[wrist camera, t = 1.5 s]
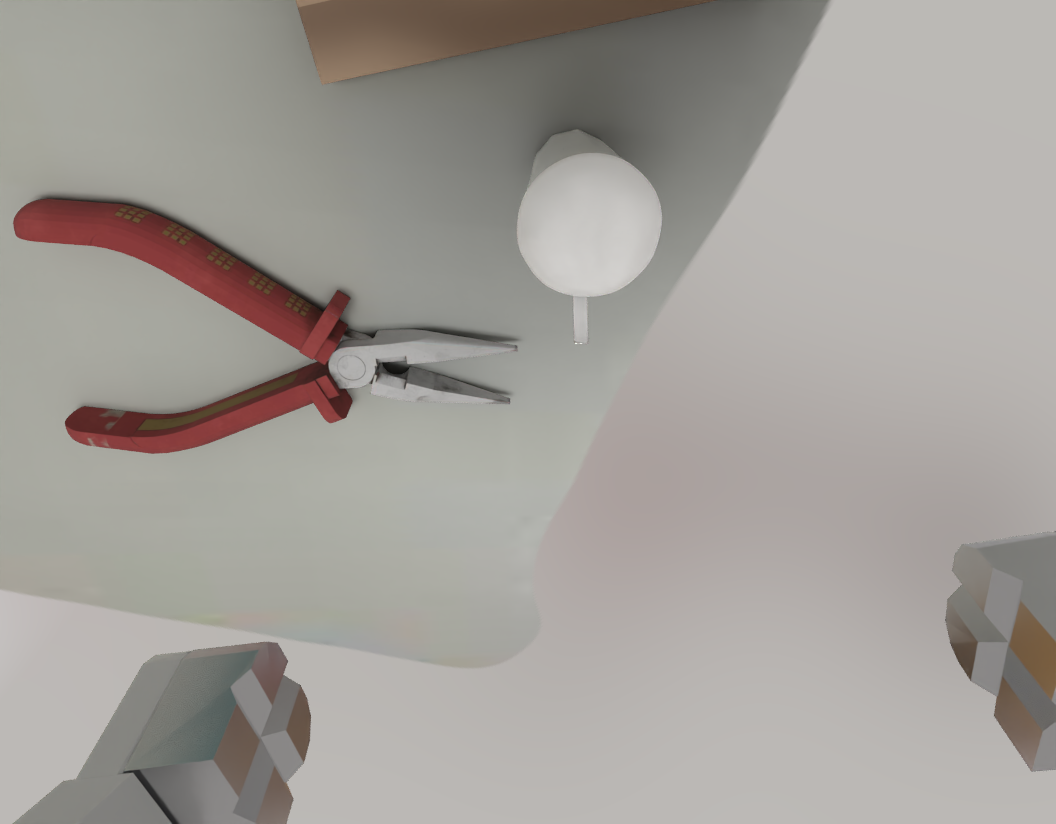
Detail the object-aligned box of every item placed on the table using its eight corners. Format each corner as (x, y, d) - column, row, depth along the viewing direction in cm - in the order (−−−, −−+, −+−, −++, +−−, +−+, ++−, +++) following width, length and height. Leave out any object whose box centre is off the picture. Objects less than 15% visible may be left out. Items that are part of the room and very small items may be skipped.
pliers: (502, 463, 37) (501, 495, 35) (88, 425, 36) (58, 456, 33) (529, 242, 31) (530, 263, 29) (32, 185, 30) (-10, 202, 27)
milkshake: (510, 238, 30) (508, 338, 22) (522, 105, 28) (525, 160, 19) (614, 248, 31) (651, 350, 22) (635, 117, 28) (688, 177, 19)
